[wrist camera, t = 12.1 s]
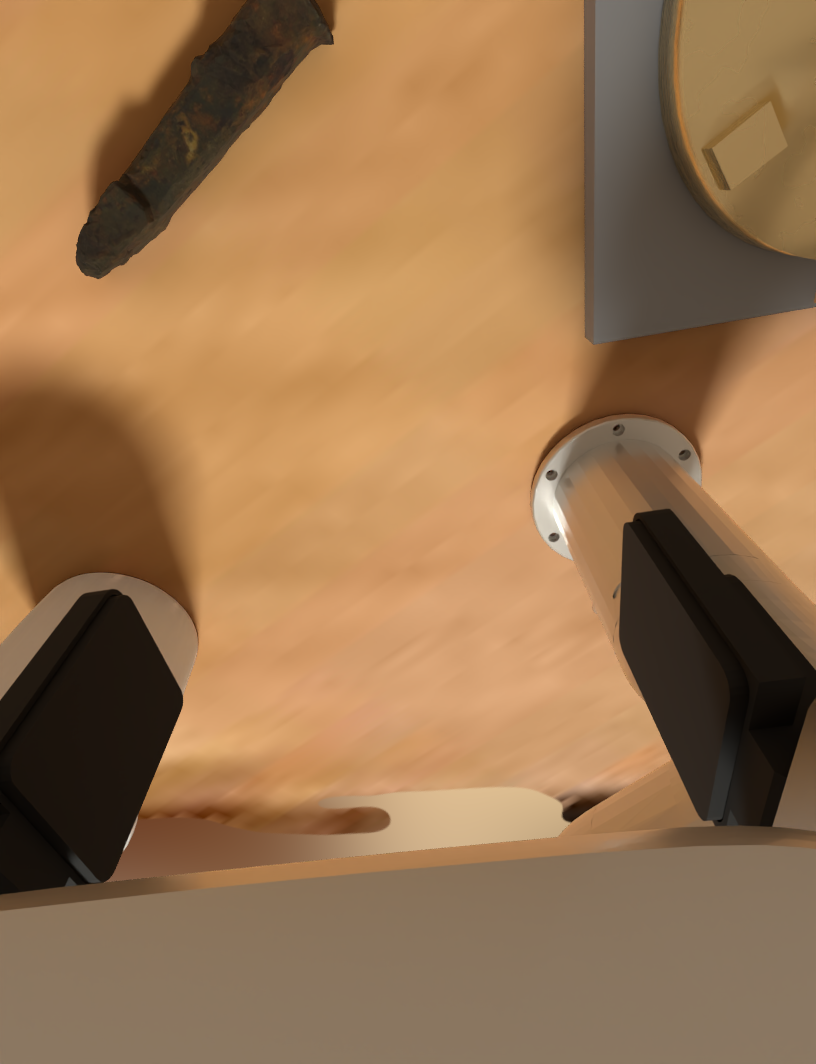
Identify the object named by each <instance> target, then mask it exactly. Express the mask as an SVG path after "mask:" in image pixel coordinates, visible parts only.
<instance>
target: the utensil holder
mask: <svg viewBox="0 0 816 1064" xmlns="http://www.w3.org/2000/svg"><path fill="white" fill-rule="evenodd" d="M109 589H117V590H119V591H120V592H121V593H122V594H123V595H128V596H129V597H130V598H131V599H132V600H133V602H134V604H135V606H136V608H137V610H138V611H139V613H140V615H141V617H142V619H143V621H144V622H145V624H146V626H147V628H148V630H149V632H150V633H151V635H152V637H153V639H154V641H155V643H156V644H157V646H158V648H159V650H160V652H161V654H162V655H163V657H164V659H165V661H166V663H167V665H168V666H169V668H170V670H171V672H172V674H173V676H174V677H175V679H176V681H177V683H178V685H179V687H180V688H181V691H182V695H183V694H184V691H185V688H186V685H187V682H188V679H189V677H190V674H191V671H192V668H193V665H194V662H195V659H196V656H197V651H198V637H197V632H196V629H195V626H194V624H193V622H192V620H191V618H190V616H189V615H188V613H187V612H186V611H185V609H184V608H183V607H182V606H181V605H180V604H179V603H178V602H177V601H176V600H175V599H173V598H172V597H171V596H170V595H168V594H167V593H166V592H164V591H163V590H161V589H159V588H158V587H156V586H154V585H152V584H150V583H148V582H145V581H143V580H141V579H137V578H134V577H131V576H126V575H122V574H115V573H102V572H99V573H87V574H82V575H78V576H75V577H72V578H70V579H67V580H66V581H64V582H62V583H61V584H59V585H58V586H56V587H55V588H54V589H53V590H51V591H50V592H49V593H48V594H47V595H46V596H45V597H44V598H43V599H42V600H41V601H40V602H39V603H38V604H37V605H36V606H35V608H34V609H33V610H32V611H31V612H30V613H29V614H28V615H27V616H26V617H25V618H24V619H23V620H22V621H21V623H20V624H19V625H18V626H17V627H16V628H15V629H14V630H13V631H12V632H11V633H10V634H9V636H8V637H7V638H6V639H5V640H4V641H3V642H2V643H1V644H0V700H1V698H2V697H3V696H4V694H5V693H6V692H7V691H8V689H9V688H10V687H11V685H12V684H13V683H14V681H15V680H16V679H17V678H18V676H19V675H20V674H21V672H22V671H23V670H24V668H25V667H26V666H27V665H28V663H29V662H30V661H31V659H32V658H33V657H34V655H35V654H36V653H37V652H38V650H39V649H40V648H41V646H42V645H43V644H44V642H45V641H46V640H47V639H48V637H49V636H50V635H51V633H52V632H53V631H54V629H55V628H56V627H57V626H58V624H59V623H60V622H61V620H62V619H63V618H64V616H65V615H66V614H67V613H68V611H69V610H70V609H71V607H72V606H73V605H74V603H75V602H76V601H77V600H78V598H79V597H80V596H81V595H82V594H84V593H88V592H95V591H102V590H109ZM137 819H138V816H137V818H136V821H135V823H134V825H133V828H132V830H131V833H130V835H129V837H128V840H127V842H126V845H125V847H124V849H125V848H126V846H127V845H128V843H129V841H130V839H131V837H132V834H133V832H134V829H135V826H136V823H137Z"/></svg>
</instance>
